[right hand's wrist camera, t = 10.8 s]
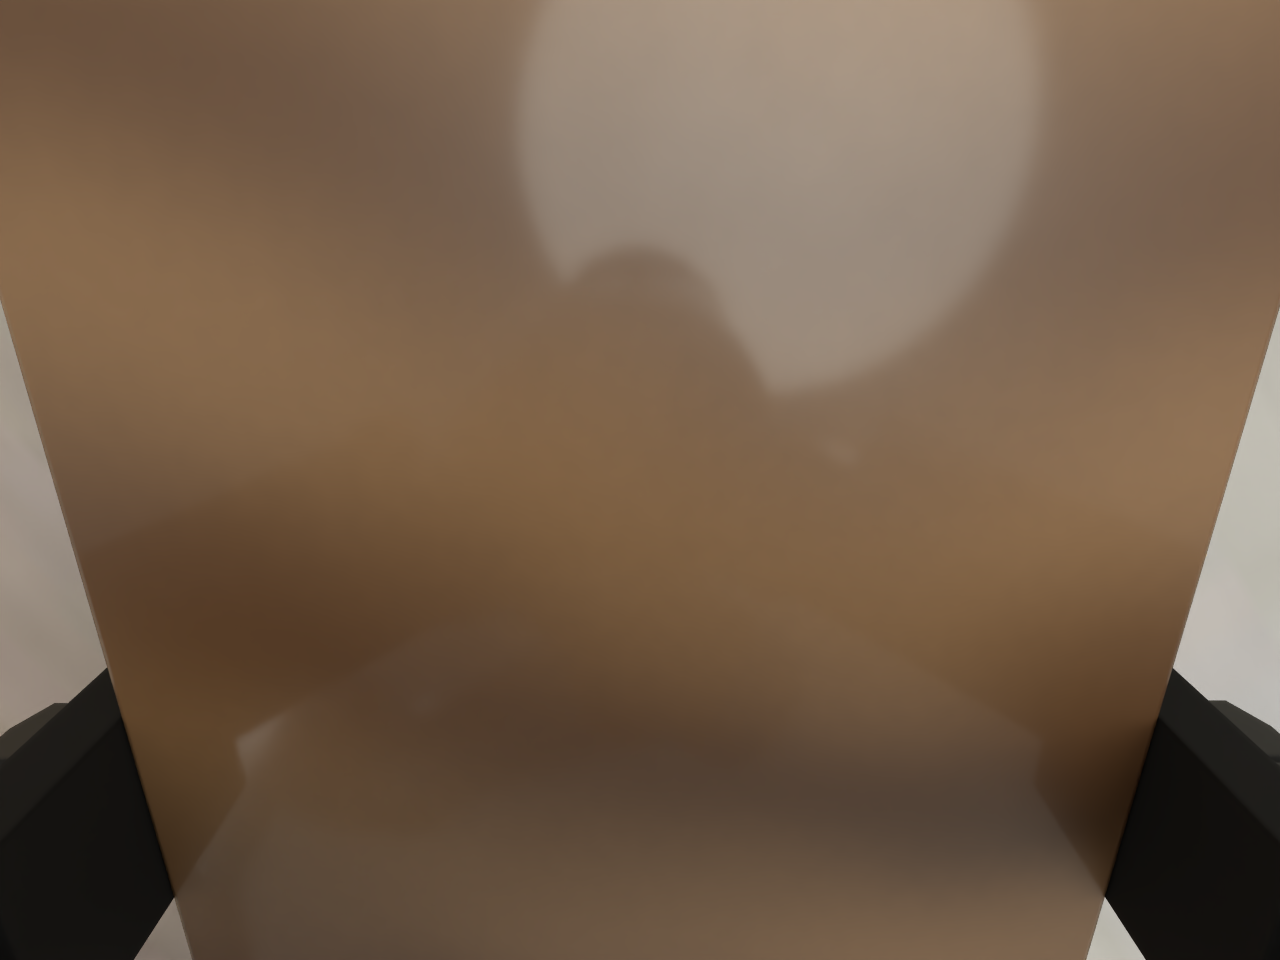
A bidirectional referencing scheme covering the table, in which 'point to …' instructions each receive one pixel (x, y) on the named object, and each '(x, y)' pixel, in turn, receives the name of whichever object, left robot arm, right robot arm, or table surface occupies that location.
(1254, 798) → the right robot arm
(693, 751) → the cabinet
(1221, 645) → the table surface
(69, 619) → the table surface
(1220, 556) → the table surface
